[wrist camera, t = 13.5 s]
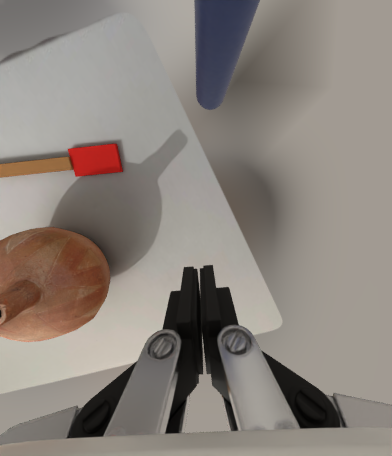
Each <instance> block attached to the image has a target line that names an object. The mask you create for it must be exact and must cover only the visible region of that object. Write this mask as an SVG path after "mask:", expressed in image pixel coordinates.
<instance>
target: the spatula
mask: <svg viewBox="0 0 392 456" xmlns="http://www.w3.org/2000/svg"><path fill="white" fill-rule="evenodd" d="M68 152H69V155H70V157H60V158H51V159H42V160H33V161H24V162H14V163H5V164H0V177H9V176H18V175H28V174H37V173H46V172H56V171H65V170H74V172H75V176H76V177H77V176H87V175H97V174H106V173H115V172H123V170H122V165H121V160H120V156H119V151H118V146H117V144H107V145H98V146H89V147H80V148H71V149H68Z"/></svg>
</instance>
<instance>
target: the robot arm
mask: <svg viewBox="0 0 392 456" xmlns="http://www.w3.org/2000/svg"><path fill="white" fill-rule="evenodd" d="M203 267H204V268H201V269H200V290H199V281H198V272H197V269H194V267H184V270H183V277H182V284H181V291H171V293H170V297H169V302H168V307H167V311H166V316H165V320H164V325H163V329H162V330H160V331H157V332H156V333H154V334H153V335H152V336H151V337H149V338H148V340H147V342H146V343H145V345H144V348H143V350H142V352H141V354H140V356H139V359H138V361H137V362H135V363H134V364H133V365H132V366H131V367H129V368H128V369H127V370H126V371H124V372H123V373H122V374H121V375H120V376H118V377H117V378H116V379H115V380H114V381H112V382H111V383H110V384H109V385H107V386H106V387H105V388H104V389H103V390H101V391H100V392H99V393H98V394H97V395H95V396H94V397H93V398H92V399H91V400H90V401H89V402H88V403H86V404H85V406H84V407H82V408H78V406H74V407H71V408H68V409H65V410H61V411H58V412H56V413H52V414H49V415H46V416H43V417H40V418H37V419H33V420H30V421H27V422H24V423H20V424H18V425H16V426H14V427H12V428H9V429H8V430H7V431H5V432H4V433H3V434H1V435H0V456H392V405H390V404H385V403H380V402H375V401H371V400H365V399H360V398H355V397H351V396H346V395H340V394H336V393H334V394H333V396H329V395H325V394H324V393H323V392H321V391H320V390H319V389H318V388H316V387H315V386H313V385H312V384H311V383H309V382H308V381H306V380H305V379H303V378H302V377H300V376H299V375H297V374H296V373H294V372H293V371H291V370H290V369H288V368H287V367H285V366H284V365H282V364H281V363H279V362H278V361H276V360H275V359H273V358H272V357H270V356H269V355H267V354H266V353H264V352H263V351H261V349H260V347H259V345H258V344H257V342H256V340H255V338H254V336H253V334H252V333H251V332H250V331H249V330H248V329H246V328H245V327H242V326H239V324H238V320H237V316H236V313H235V309H234V305H233V301H232V297H231V293H230V289H229V287H223V288H216V284H215V277H214V271H213V265H207V266H203ZM200 297H201V300H200ZM202 335H203V344H204V353H205V362H206V371H207V374H211V377H212V385H213V386H214V387H215V388H216V389H217V390H218V391H219V392H220V394H221V395H222V401H223V406H224V410H225V414H226V419H227V423H228V427H229V431H224V432H199V433H185V427H186V421H187V415H188V408H189V402H190V393H191V392H192V391H193V390H194V388H195V387H196V386H197V384H198V383H199V374H203V348H202Z"/></svg>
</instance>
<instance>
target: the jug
mask: <svg viewBox="0 0 392 456" xmlns="http://www.w3.org/2000/svg"><path fill="white" fill-rule="evenodd" d="M109 284H110V270H109V266H108V263H107V260H106V258H105V256H104V254H103V253H102V251H101V250H100V249H99V247H98V246H97V245H96V244H95V243H93V242H92V241H91V240H90V239H88V238H86V237H85V236H83V235H80V234H78V233H75V232H72V231H68V230H64V229H59V228H55V227H46V228H35V229H30V230H26V231H23V232H19V233H16V234H13V235H11V236H8V237H7V238H5V239H3V240H1V241H0V336H1V337H4V338H7V339H10V340H16V341H23V342H33V341H42V340H47V339H51V338H55V337H58V336H61V335H64V334H66V333H69V332H72V331H74V330H76V329H78V328H80V327H81V326H83V325H84V324H86V323H87V322H89V321H90V320H92V319H93V318H94V317H95V315H96V314H97V312H98V311H99V309H100V307H101V306H102V304H103V303H104V301H105V299H106V297H107V293H108V289H109Z"/></svg>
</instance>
